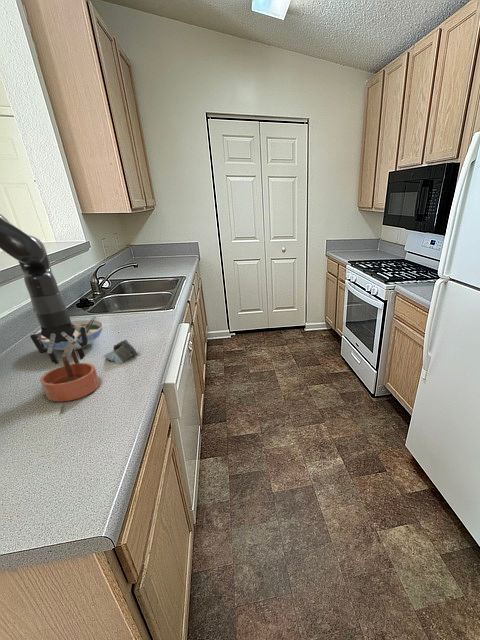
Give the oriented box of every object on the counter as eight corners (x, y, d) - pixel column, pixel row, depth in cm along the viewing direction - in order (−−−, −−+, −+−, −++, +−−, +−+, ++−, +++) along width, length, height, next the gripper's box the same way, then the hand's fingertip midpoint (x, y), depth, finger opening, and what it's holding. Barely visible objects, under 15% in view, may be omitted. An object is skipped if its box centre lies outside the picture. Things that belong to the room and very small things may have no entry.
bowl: (43, 408, 92) (35, 389, 90) (51, 385, 103) (44, 368, 101) (99, 395, 98) (92, 378, 95) (100, 375, 109) (95, 359, 106)
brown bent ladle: (82, 390, 99) (71, 359, 95) (63, 394, 97) (51, 363, 93) (87, 367, 114) (78, 340, 110) (71, 370, 113) (61, 342, 108)
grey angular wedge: (98, 359, 120) (101, 345, 111) (113, 347, 125) (117, 332, 116) (120, 376, 122) (125, 363, 113) (134, 363, 126) (140, 350, 118)
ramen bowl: (52, 339, 138) (45, 320, 134) (113, 332, 144) (108, 314, 140) (29, 365, 116) (20, 344, 113) (101, 355, 122) (95, 335, 119)
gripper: (80, 302, 101) (96, 351, 109) (23, 309, 96) (44, 361, 103) (78, 308, 95) (95, 360, 103) (16, 316, 90) (39, 371, 97)
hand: (69, 360), depth 103 cm, fingers open, 6 cm apart
